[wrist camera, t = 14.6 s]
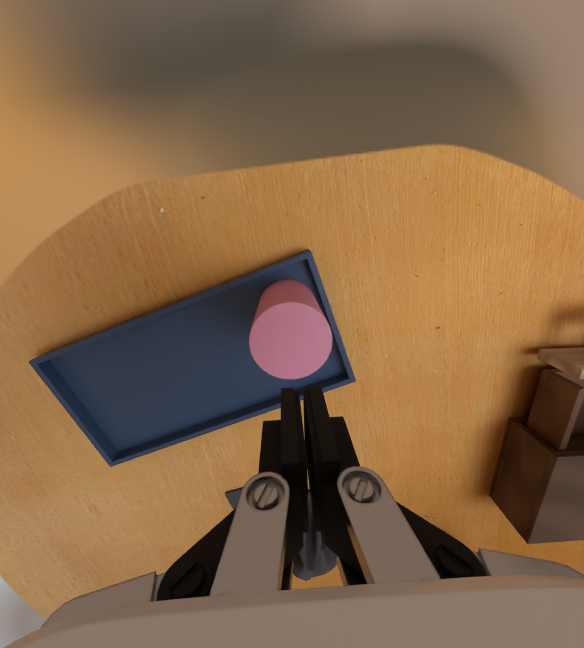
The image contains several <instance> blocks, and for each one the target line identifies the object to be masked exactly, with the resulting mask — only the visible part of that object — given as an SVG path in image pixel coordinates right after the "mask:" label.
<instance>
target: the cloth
mask: <svg viewBox="0 0 584 648" xmlns="http://www.w3.org/2000/svg"><path fill="white" fill-rule="evenodd" d="M242 489H243V488H241V489H237V490H233V491H230V492H227V493H226V497H227V499H228V501H229V503H230V504H231V506H232V508H233V509H236V508H237V505H238V501H239V498H240V495H241V492H242ZM308 522H309V533H303V543H304V547H303V548H302V549H301V551H300V552H299V553H298V554H297V556H296V557H295V558H294V559H293V574H294V575H295V576H296V577H297V578H300V579H303V580H306V581H307V580H309V579H311V577H316V576H320V575H323V574H326V573H327V572H329V571H331V570H332V569H333V568H334V567H335V566H336V564H337V561H336V554H335V553H333V552H332V551H331V550H330V549H329V548H328V547H327V546H326V545H325V543H324V544H322V538H321V532H315V530H314V522H313V513H312V505H311V496H310V491H309V492H308Z"/></svg>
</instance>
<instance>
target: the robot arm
mask: <svg viewBox="0 0 584 648" xmlns="http://www.w3.org/2000/svg"><path fill="white" fill-rule="evenodd" d="M303 398H304V432H303V423H302V414H301V406H300V397H299V391H294V388H281V420H273V421H263V429H262V440H261V451H260V462H259V473H258V474H256V475H255V476H253V477H252V478H250V479H249V480H248V481H247V482H246V483H245V485H244V487H243V489H242V492H241V495H240V498H239V501H238V505H237V508H236V509H234V510H233V511H232V512H231V513H230V514H229V515H228V516H227V517H225V518H224V519H223V520H222V521H221V522H220V523H219V524H217V525H216V526H215V527H214V528H213V529H212V530H211V531H210V532H208V533H207V534H206V535H205V536H204V537H203V538H202V539H200V540H199V541H198V542H197V543H196V544H195V545H194V546H193V547H191V548H190V549H189V550H188V551H187V552H186V553H185V554H183V555H182V556H181V557H180V558H179V559H178V560H177V561H176V562H175V563H174V564H173V565H172V566H171V567H170V568H169V569H168V570H167V572H165V573H162V574H159V575H156V571H154V572H151V573H148V574H145V575H142V576H139V577H136V578H133V579H130V580H127V581H124V582H121V583H118V584H115V585H112V586H109V587H106V588H103V589H100V590H96V591H93V592H90V593H87V594H84V595H81V596H78V597H76V598H74V599H72V600H70V601H68V602H66V603H64V604H63V605H62V606H61V607H60V608H58V609H57V610H56V611H55V612H53V613H52V615H51V616H50V617H49V618H48V619H47V620H46V622H45V623H44V624H43V625H42V627H41V628H40V629H38V630H36V631H34V632H32V633H30V634H28V635H26V636H24V637H22V638H20V639H18V640H17V641H14V642H13V643H11V644H10V645H7V646H6V647H4V648H584V575H582V574H581V573H579V572H578V571H576V570H574V569H573V568H571V567H569V566H567V565H564V564H561V563H558V562H554V561H548V560H543V559H537V558H532V557H526V556H520V555H515V554H509V553H504V552H498V551H492V550H487V549H481V548H479V551H478V552H473V551H471V550H470V549H469V548H468V547H466V546H465V545H464V544H462V543H461V542H460V541H458V540H457V539H455V538H453V537H452V536H450V535H449V534H447V533H445V532H444V531H442V530H441V529H439V528H437V527H436V526H434V525H433V524H431V523H429V522H428V521H426V520H425V519H423V518H421V517H420V516H418V515H417V514H415V513H413V512H412V511H410V510H409V509H407V508H405V507H404V506H402V505H401V504H399V503H397V502H396V501H395V500H394V498H393V496H392V495H391V493H390V491H389V490H388V488H387V486H386V484H385V483H384V481H383V480H382V479H381V477H380V476H379V475H378V474H377V473H375V472H374V471H372V470H370V469H368V468H365V467H360V465H359V462H358V459H357V456H356V453H355V450H354V447H353V444H352V441H351V438H350V435H349V432H348V429H347V426H346V423H345V420H344V418H343V417H329V414H328V410H327V406H326V403H325V399H324V395H323V391H322V388H321V386H311V387H308V390H303ZM304 434H305V440H304ZM307 470H308V478H309V487H310V496H311V505H312V513H313V522H314V530H315V532H321V538H322V544H324V543H325V545H326V546H327V547H328V548H329V549H330V550H331V551H332V552H333V553H335V554H336V561H337V566H338V569H339V572H340V576H341V579H342V582H343V586H335V587H322V588H309V589H295V590H291V589H292V578H293V559H294V558H295V557H296V556H297V554H298V553H299V552H300V551H301V549H302V548H303V547H304V543H303V533H309V522H308V482H307Z"/></svg>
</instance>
